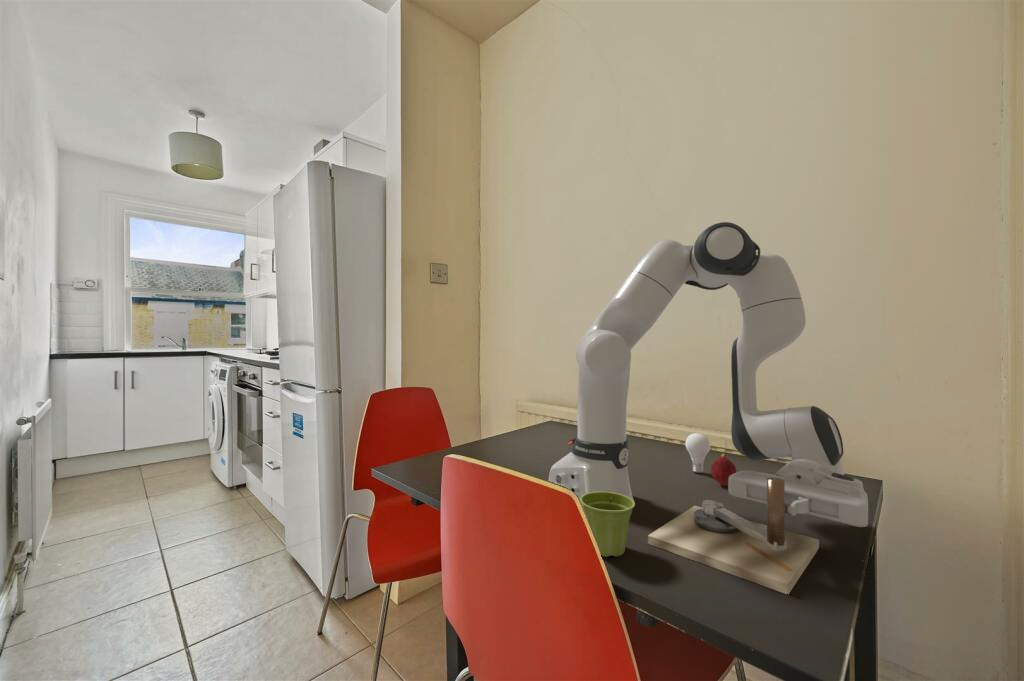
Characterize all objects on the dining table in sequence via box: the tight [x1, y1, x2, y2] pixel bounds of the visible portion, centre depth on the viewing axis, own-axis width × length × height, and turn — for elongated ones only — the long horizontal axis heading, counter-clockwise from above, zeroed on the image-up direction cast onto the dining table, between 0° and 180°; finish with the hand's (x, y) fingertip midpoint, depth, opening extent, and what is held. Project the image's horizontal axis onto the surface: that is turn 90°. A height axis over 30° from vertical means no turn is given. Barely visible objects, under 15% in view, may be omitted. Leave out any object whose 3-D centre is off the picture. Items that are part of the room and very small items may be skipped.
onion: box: [710, 453, 738, 487], centre depth 109 cm, size 6×6×8 cm
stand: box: [647, 505, 820, 595], centre depth 77 cm, size 22×20×2 cm
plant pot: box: [580, 492, 636, 558], centre depth 76 cm, size 9×9×9 cm
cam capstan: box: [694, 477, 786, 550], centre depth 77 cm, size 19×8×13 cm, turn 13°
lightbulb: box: [684, 432, 711, 474], centre depth 120 cm, size 6×6×11 cm
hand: (781, 508), depth 70 cm, fingers closed
